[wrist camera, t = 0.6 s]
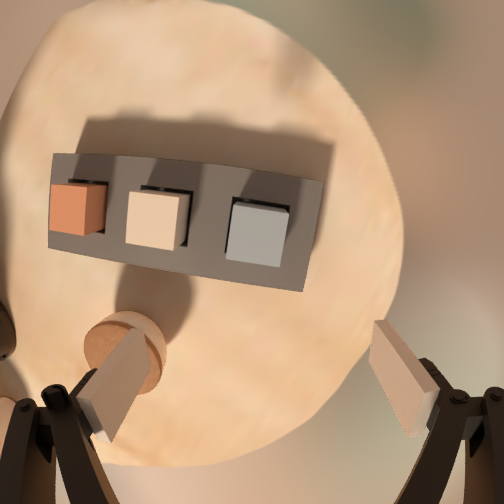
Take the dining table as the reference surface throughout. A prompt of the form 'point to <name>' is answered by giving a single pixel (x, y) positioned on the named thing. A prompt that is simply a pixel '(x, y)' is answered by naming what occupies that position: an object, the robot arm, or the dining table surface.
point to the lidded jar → (113, 331)
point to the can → (5, 418)
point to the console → (193, 215)
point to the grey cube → (257, 234)
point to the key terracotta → (78, 208)
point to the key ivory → (157, 218)
